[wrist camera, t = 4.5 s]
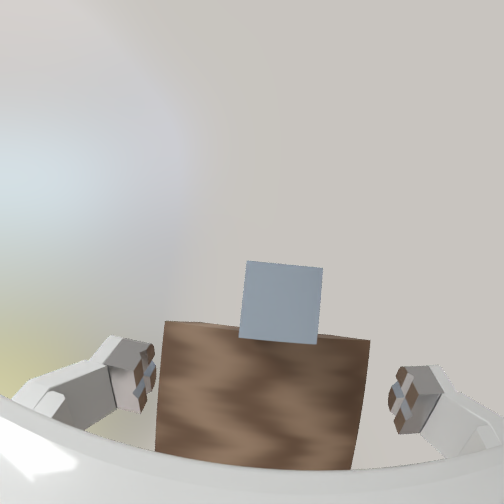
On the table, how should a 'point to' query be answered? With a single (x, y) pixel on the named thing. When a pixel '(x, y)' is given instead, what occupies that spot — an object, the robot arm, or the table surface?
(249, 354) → the plinth
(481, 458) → the robot arm
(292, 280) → the bar
